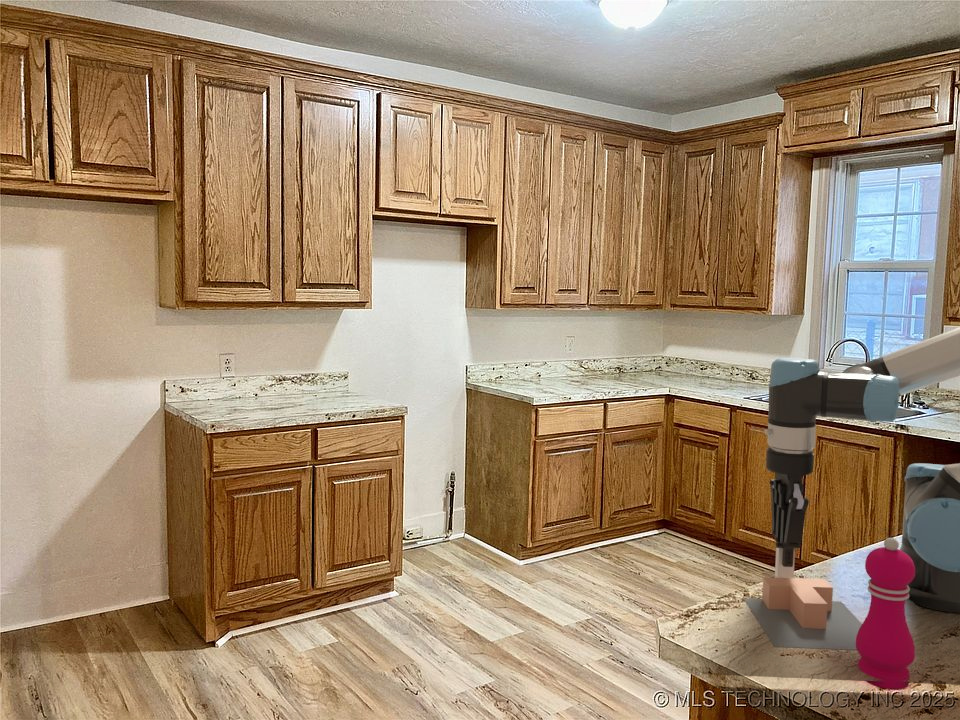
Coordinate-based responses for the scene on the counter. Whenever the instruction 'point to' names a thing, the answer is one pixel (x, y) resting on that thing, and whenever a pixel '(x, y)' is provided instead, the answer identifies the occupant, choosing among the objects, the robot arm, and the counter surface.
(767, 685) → the counter surface
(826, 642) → the mat
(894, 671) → the pepper mill
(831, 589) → the t block
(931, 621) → the counter surface
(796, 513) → the robot arm
